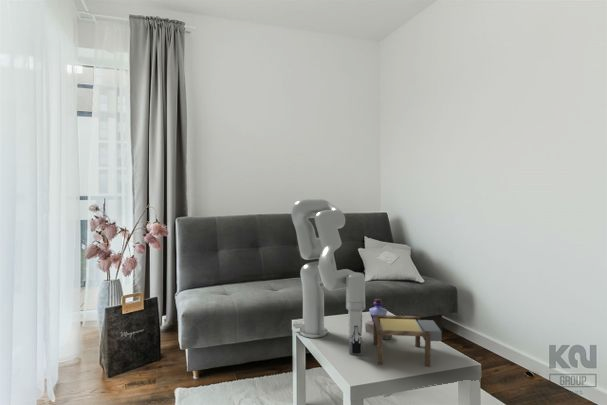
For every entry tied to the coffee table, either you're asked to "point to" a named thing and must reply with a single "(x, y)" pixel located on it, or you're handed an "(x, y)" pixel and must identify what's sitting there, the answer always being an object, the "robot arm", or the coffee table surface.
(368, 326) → the concrete fragment
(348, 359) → the coffee table surface
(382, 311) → the potion bottle
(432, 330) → the trapdoor
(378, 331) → the frame
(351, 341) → the smooth grey cube
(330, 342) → the coffee table surface
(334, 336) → the coffee table surface
